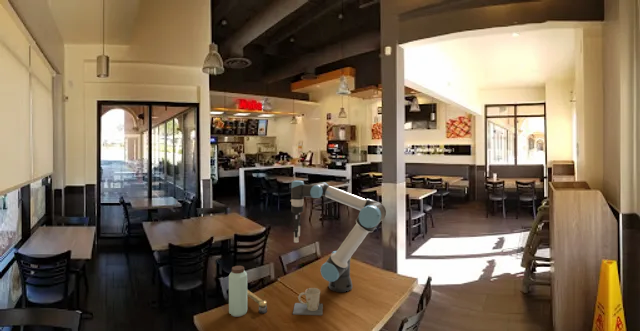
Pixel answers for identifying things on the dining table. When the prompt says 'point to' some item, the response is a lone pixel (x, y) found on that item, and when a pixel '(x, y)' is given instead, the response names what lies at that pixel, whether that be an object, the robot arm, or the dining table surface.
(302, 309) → the mat
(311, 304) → the mug
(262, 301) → the lever
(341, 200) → the robot arm
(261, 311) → the lever post
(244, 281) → the water bottle
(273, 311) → the dining table surface
